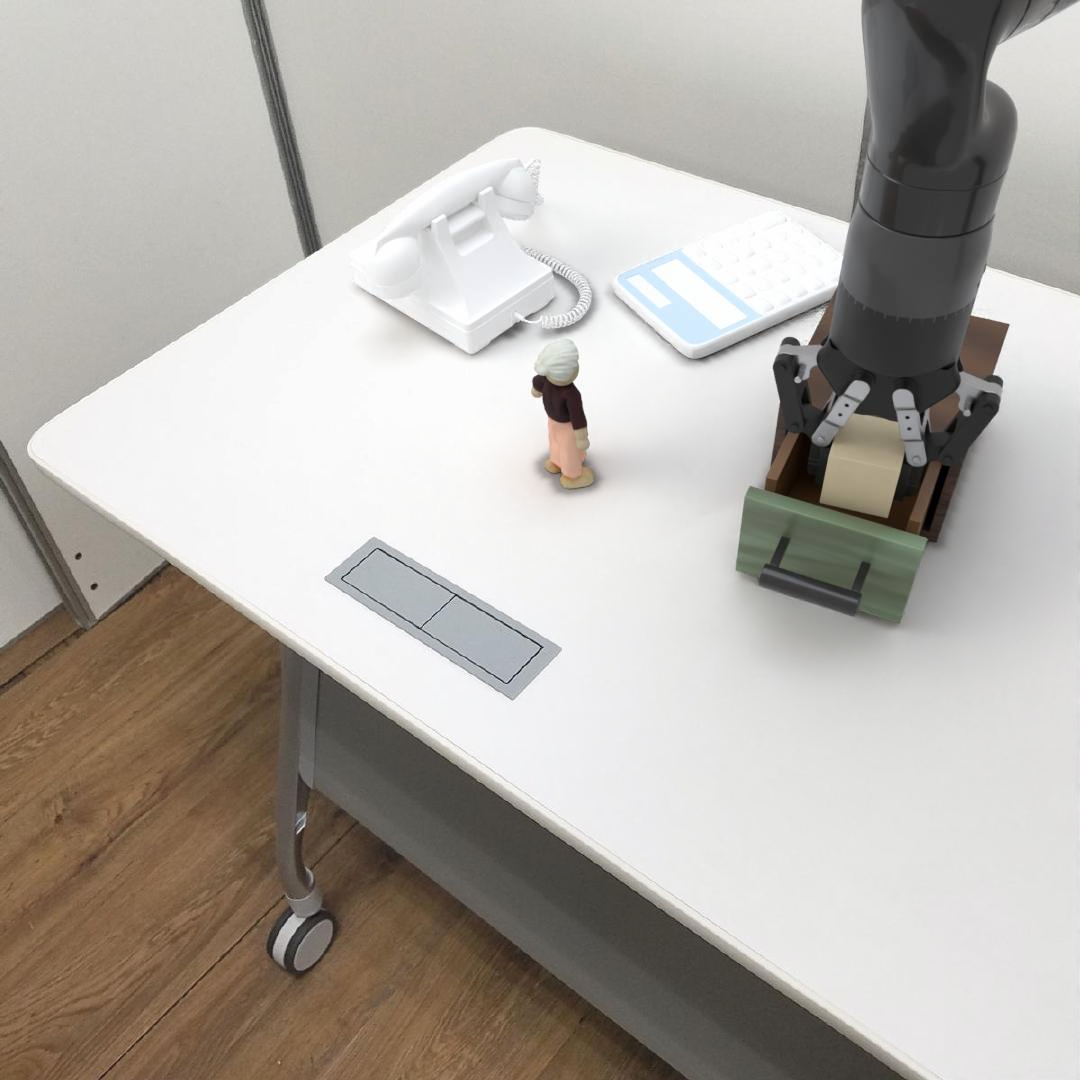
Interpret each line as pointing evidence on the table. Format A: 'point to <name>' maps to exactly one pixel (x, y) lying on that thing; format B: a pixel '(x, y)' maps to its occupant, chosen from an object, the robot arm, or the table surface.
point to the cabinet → (976, 360)
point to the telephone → (466, 258)
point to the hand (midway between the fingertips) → (860, 483)
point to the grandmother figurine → (563, 412)
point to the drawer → (831, 540)
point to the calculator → (732, 283)
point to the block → (864, 465)
